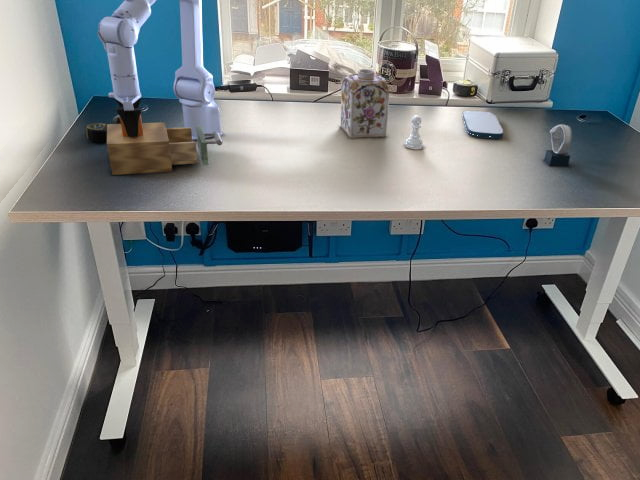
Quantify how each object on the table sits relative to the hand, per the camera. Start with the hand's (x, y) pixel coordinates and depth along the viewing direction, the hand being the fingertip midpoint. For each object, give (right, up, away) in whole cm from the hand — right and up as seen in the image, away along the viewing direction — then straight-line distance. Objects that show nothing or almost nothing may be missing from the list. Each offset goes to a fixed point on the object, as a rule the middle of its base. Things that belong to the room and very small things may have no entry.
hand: (132, 131), depth 146 cm
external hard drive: (+93, +14, +51) cm, 107 cm away
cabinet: (0, -6, +5) cm, 8 cm away
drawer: (+11, -4, +8) cm, 14 cm away
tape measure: (-14, +2, +16) cm, 22 cm away
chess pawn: (+70, +3, +30) cm, 76 cm away
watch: (+111, -2, +27) cm, 114 cm away
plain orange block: (0, 0, 0) cm, 0 cm away
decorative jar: (+55, +10, +38) cm, 67 cm away
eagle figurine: (-11, +7, +24) cm, 28 cm away
